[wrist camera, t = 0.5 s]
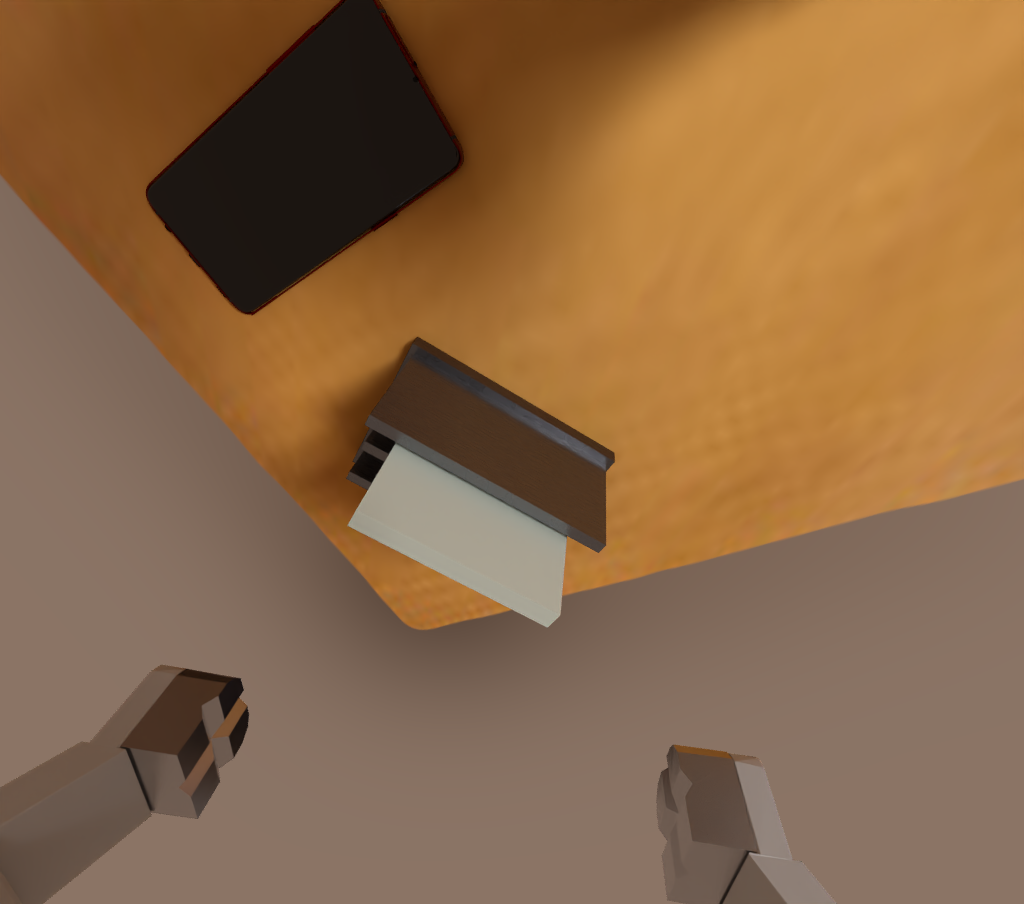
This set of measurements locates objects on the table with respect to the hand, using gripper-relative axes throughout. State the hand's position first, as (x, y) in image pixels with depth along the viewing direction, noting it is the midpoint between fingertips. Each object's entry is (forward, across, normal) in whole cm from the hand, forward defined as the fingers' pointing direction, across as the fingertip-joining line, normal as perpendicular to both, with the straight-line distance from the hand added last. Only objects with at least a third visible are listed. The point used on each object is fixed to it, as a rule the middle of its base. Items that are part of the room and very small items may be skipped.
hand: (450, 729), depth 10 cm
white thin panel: (+39, +3, +12) cm, 41 cm away
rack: (+41, +5, +16) cm, 44 cm away
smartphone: (+39, +20, -7) cm, 45 cm away
